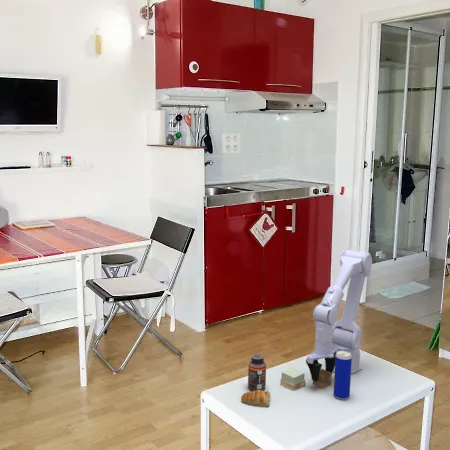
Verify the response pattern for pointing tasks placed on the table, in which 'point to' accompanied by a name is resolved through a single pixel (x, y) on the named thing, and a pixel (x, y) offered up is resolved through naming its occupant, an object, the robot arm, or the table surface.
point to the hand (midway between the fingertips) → (321, 377)
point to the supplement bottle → (257, 373)
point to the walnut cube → (323, 379)
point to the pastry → (257, 398)
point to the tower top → (293, 376)
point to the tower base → (291, 386)
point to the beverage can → (342, 375)
